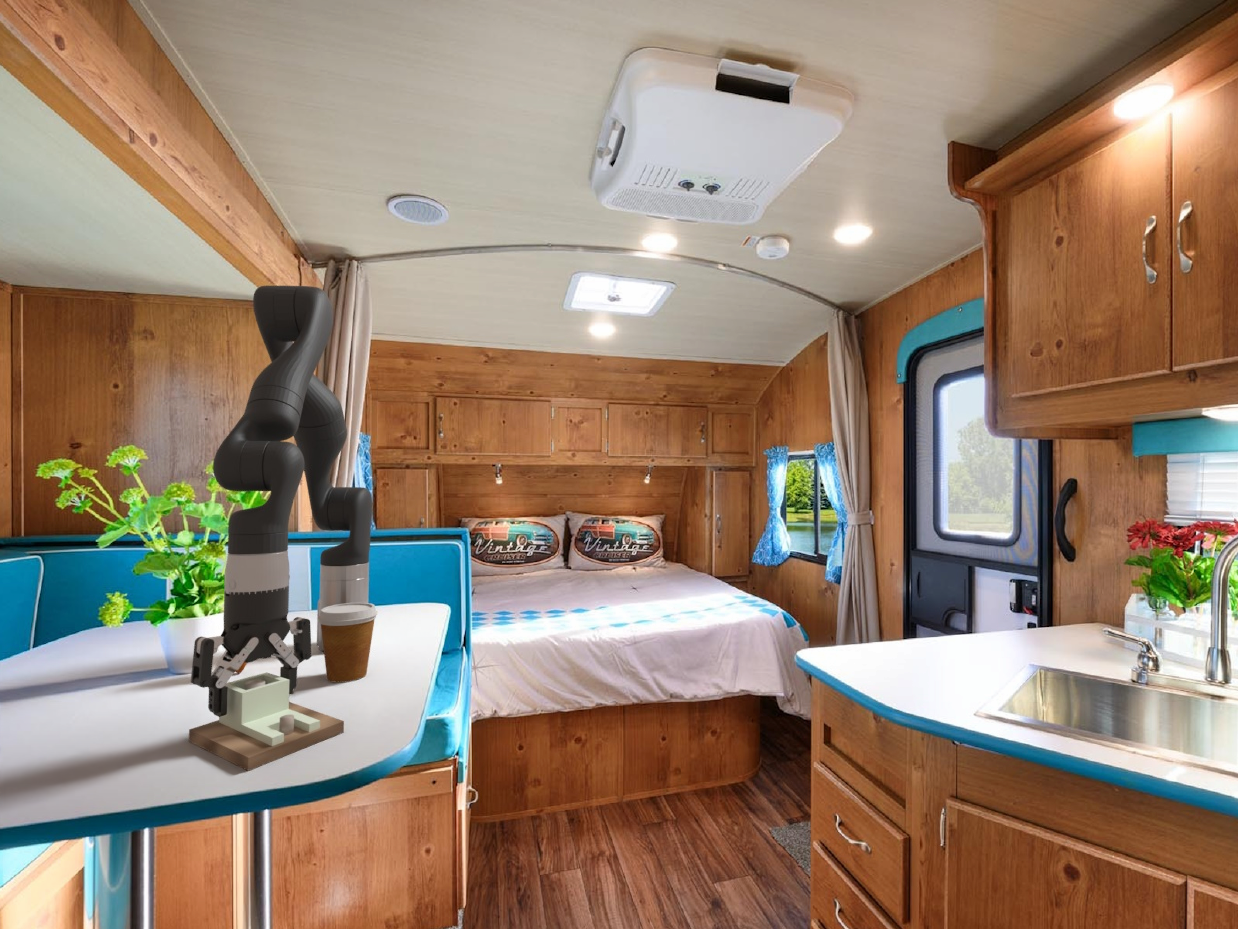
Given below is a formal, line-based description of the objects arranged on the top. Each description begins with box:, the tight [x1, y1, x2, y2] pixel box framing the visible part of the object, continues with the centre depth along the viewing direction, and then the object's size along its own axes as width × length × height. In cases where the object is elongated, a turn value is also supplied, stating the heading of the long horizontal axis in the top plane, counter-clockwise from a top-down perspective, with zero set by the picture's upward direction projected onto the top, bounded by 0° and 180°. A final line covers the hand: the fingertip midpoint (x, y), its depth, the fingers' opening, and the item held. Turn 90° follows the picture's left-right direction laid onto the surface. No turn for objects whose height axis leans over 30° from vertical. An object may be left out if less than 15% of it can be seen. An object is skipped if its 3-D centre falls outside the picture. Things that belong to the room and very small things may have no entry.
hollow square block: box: [218, 672, 320, 746], centre depth 75 cm, size 14×6×5 cm, turn 59°
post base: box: [188, 680, 345, 772], centre depth 75 cm, size 15×12×6 cm
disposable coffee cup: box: [318, 602, 378, 683], centre depth 99 cm, size 10×10×12 cm
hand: (254, 704), depth 77 cm, fingers open, 8 cm apart
